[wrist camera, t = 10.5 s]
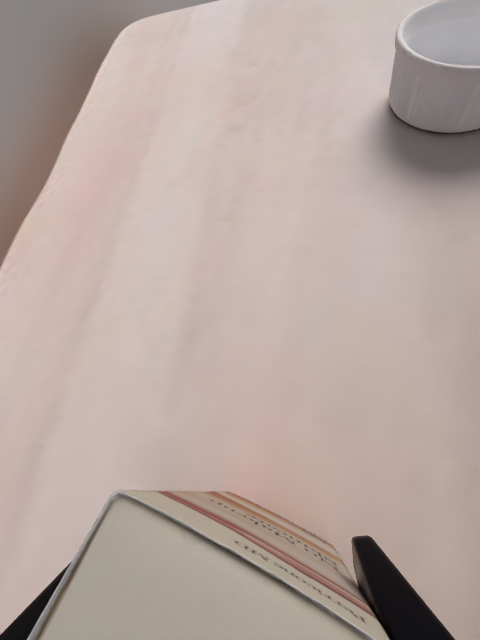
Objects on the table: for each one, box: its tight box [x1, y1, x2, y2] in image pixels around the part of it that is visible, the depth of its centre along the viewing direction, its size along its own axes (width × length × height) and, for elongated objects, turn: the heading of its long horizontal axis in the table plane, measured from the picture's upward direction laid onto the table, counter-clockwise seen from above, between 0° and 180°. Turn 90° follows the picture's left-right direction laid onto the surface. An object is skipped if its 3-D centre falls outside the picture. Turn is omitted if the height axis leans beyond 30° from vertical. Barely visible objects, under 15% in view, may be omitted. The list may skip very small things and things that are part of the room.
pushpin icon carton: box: [27, 490, 390, 640], centre depth 8 cm, size 5×4×10 cm
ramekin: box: [389, 0, 480, 133], centre depth 21 cm, size 9×9×4 cm
